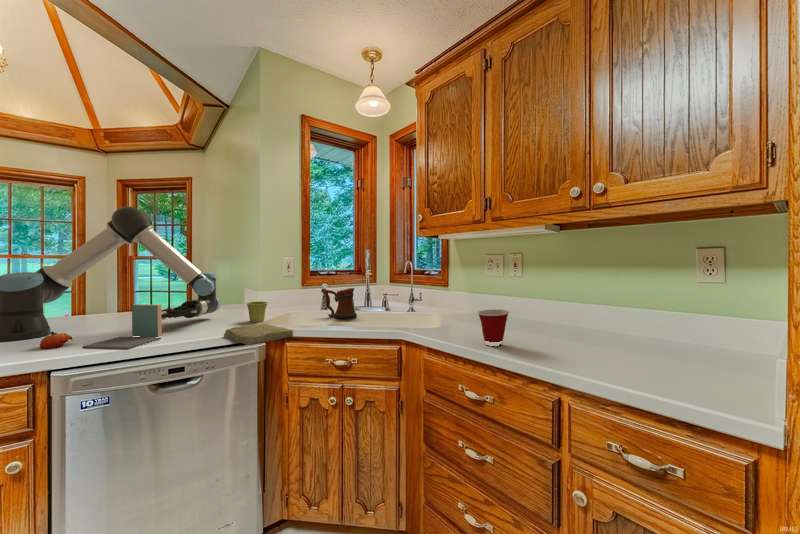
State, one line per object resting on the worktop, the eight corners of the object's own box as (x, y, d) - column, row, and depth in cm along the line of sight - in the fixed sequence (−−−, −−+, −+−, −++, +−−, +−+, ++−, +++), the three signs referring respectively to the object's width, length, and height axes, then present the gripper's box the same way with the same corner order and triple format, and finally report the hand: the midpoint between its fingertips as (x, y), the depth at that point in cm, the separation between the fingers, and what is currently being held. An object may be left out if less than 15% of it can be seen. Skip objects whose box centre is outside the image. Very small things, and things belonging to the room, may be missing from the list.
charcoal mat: (82, 347, 115) (82, 346, 115) (120, 338, 129) (120, 336, 129) (128, 349, 114) (128, 347, 114) (161, 339, 127) (161, 337, 127)
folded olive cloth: (264, 330, 146) (264, 321, 146) (294, 337, 134) (294, 328, 134) (219, 338, 132) (219, 329, 132) (247, 347, 119) (247, 336, 119)
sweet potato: (67, 337, 123) (68, 324, 119) (75, 352, 121) (77, 339, 118) (35, 346, 116) (36, 332, 113) (44, 361, 114) (45, 348, 111)
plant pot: (272, 320, 165) (272, 302, 165) (254, 324, 158) (254, 304, 157) (259, 318, 171) (259, 301, 170) (241, 321, 163) (241, 303, 162)
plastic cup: (474, 340, 129) (474, 308, 128) (504, 341, 128) (504, 308, 128) (480, 348, 118) (480, 313, 118) (512, 349, 118) (513, 313, 117)
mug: (317, 319, 171) (317, 288, 171) (324, 315, 183) (324, 286, 182) (354, 319, 170) (354, 288, 169) (359, 315, 181) (359, 286, 181)
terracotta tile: (132, 337, 131) (131, 305, 130) (136, 336, 132) (136, 304, 132) (157, 337, 130) (157, 305, 129) (161, 336, 132) (161, 304, 131)
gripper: (207, 317, 156) (169, 327, 133) (179, 316, 157) (136, 327, 134) (207, 300, 156) (168, 308, 132) (179, 299, 157) (136, 307, 133)
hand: (152, 317), depth 133 cm, fingers closed
